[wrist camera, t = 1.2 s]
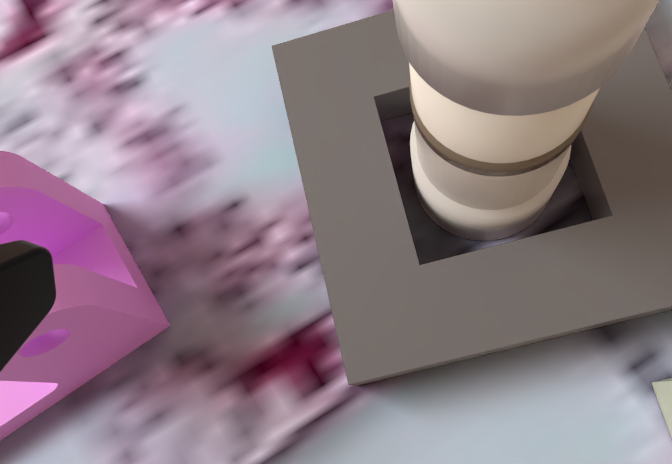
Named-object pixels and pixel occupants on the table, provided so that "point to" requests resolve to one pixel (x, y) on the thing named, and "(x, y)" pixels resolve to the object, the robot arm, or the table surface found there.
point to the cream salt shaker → (504, 100)
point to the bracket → (70, 292)
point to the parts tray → (665, 399)
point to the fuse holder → (486, 264)
